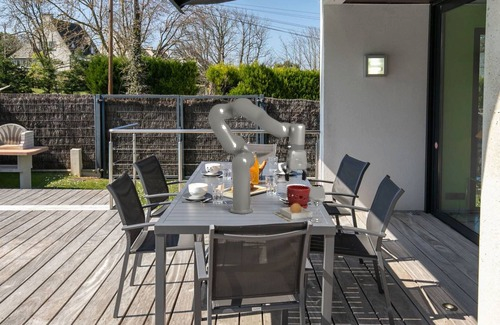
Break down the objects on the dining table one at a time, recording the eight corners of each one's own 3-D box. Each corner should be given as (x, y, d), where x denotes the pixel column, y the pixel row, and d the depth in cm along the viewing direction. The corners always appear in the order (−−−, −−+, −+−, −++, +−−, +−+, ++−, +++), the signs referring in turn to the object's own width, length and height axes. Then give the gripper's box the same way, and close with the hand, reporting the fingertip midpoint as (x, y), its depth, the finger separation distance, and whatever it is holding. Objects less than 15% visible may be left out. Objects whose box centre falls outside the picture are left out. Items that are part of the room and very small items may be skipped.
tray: (279, 213, 261) (279, 208, 261) (299, 211, 266) (299, 206, 265) (291, 219, 248) (291, 213, 248) (312, 217, 253) (312, 212, 252)
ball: (287, 213, 258) (288, 202, 258) (298, 213, 261) (298, 202, 260) (293, 216, 253) (293, 205, 252) (303, 215, 255) (303, 204, 254)
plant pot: (284, 209, 271) (285, 188, 269) (288, 204, 283) (288, 184, 282) (308, 211, 268) (308, 189, 266) (311, 206, 280) (311, 185, 279)
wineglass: (323, 219, 250) (324, 184, 248) (326, 223, 242) (327, 187, 240) (307, 219, 250) (307, 184, 248) (309, 223, 242) (310, 187, 239)
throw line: (273, 213, 262) (273, 212, 262) (275, 213, 262) (275, 212, 262) (290, 222, 244) (290, 221, 244) (293, 221, 244) (293, 221, 244)
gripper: (285, 148, 246) (283, 182, 248) (315, 148, 252) (313, 181, 255) (278, 147, 252) (277, 179, 255) (308, 146, 259) (306, 178, 261)
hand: (295, 180), depth 255 cm, fingers open, 9 cm apart
